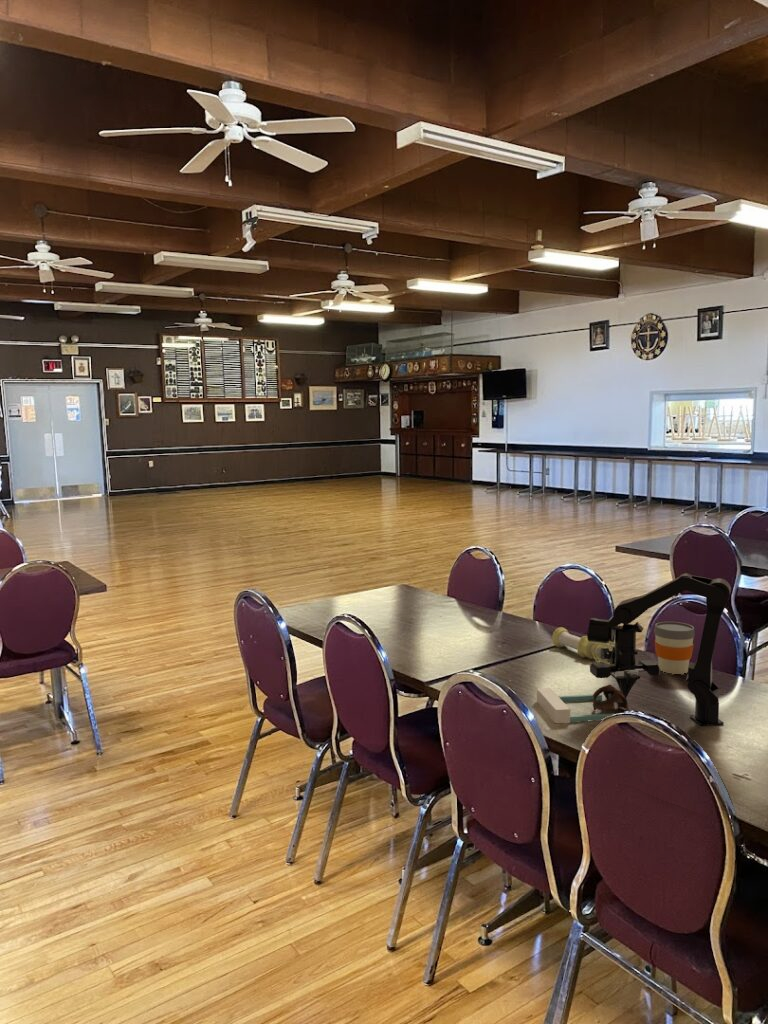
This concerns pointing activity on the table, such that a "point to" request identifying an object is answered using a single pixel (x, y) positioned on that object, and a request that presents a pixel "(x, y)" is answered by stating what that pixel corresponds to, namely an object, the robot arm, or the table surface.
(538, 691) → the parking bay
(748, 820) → the table surface
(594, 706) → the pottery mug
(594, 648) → the trophy
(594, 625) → the robot arm
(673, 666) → the reusable coffee cup
